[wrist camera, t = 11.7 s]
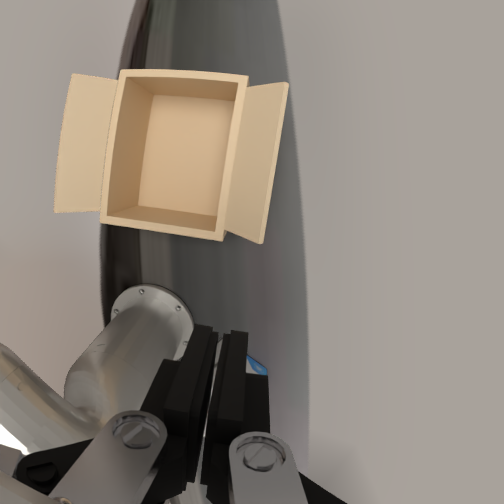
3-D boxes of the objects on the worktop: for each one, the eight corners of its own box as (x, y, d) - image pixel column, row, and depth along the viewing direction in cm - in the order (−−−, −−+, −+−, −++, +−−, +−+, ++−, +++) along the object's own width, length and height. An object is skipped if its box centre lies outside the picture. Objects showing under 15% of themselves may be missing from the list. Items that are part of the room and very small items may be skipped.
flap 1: (99, 211, 30) (98, 210, 30) (117, 80, 26) (116, 81, 27) (54, 212, 26) (53, 211, 26) (72, 73, 23) (71, 74, 23)
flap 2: (246, 87, 27) (250, 88, 27) (223, 229, 30) (228, 229, 30) (284, 81, 23) (288, 83, 23) (258, 243, 26) (262, 243, 27)
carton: (231, 223, 40) (222, 241, 30) (134, 209, 40) (99, 222, 30) (250, 98, 36) (248, 76, 26) (151, 90, 36) (120, 69, 26)
